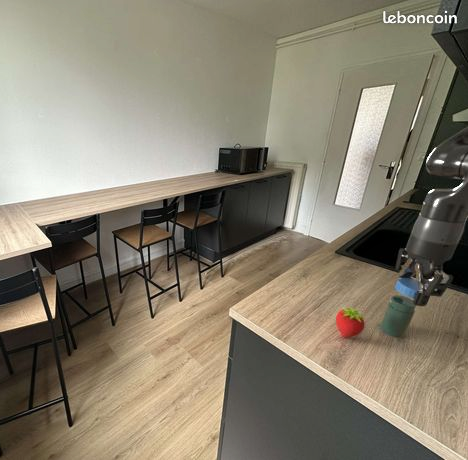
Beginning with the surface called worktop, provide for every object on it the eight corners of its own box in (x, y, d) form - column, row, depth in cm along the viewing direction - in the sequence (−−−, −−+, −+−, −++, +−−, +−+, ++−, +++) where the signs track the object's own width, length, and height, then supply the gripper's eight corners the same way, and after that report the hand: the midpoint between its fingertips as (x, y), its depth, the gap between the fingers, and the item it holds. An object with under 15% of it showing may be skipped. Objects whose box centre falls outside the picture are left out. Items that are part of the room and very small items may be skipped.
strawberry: (357, 331, 68) (367, 301, 64) (359, 351, 62) (371, 320, 58) (331, 324, 71) (339, 294, 67) (331, 342, 65) (340, 311, 61)
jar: (392, 323, 70) (404, 294, 66) (409, 337, 66) (423, 306, 62) (374, 324, 70) (385, 295, 66) (390, 338, 65) (403, 307, 62)
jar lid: (422, 289, 64) (426, 281, 63) (431, 302, 59) (435, 294, 58) (392, 282, 66) (395, 275, 66) (398, 294, 62) (401, 287, 61)
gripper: (395, 223, 64) (376, 279, 70) (438, 248, 51) (411, 314, 58) (430, 225, 62) (408, 282, 69) (484, 251, 50) (451, 318, 56)
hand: (409, 296), depth 63 cm, fingers closed on jar lid, 6 cm apart
